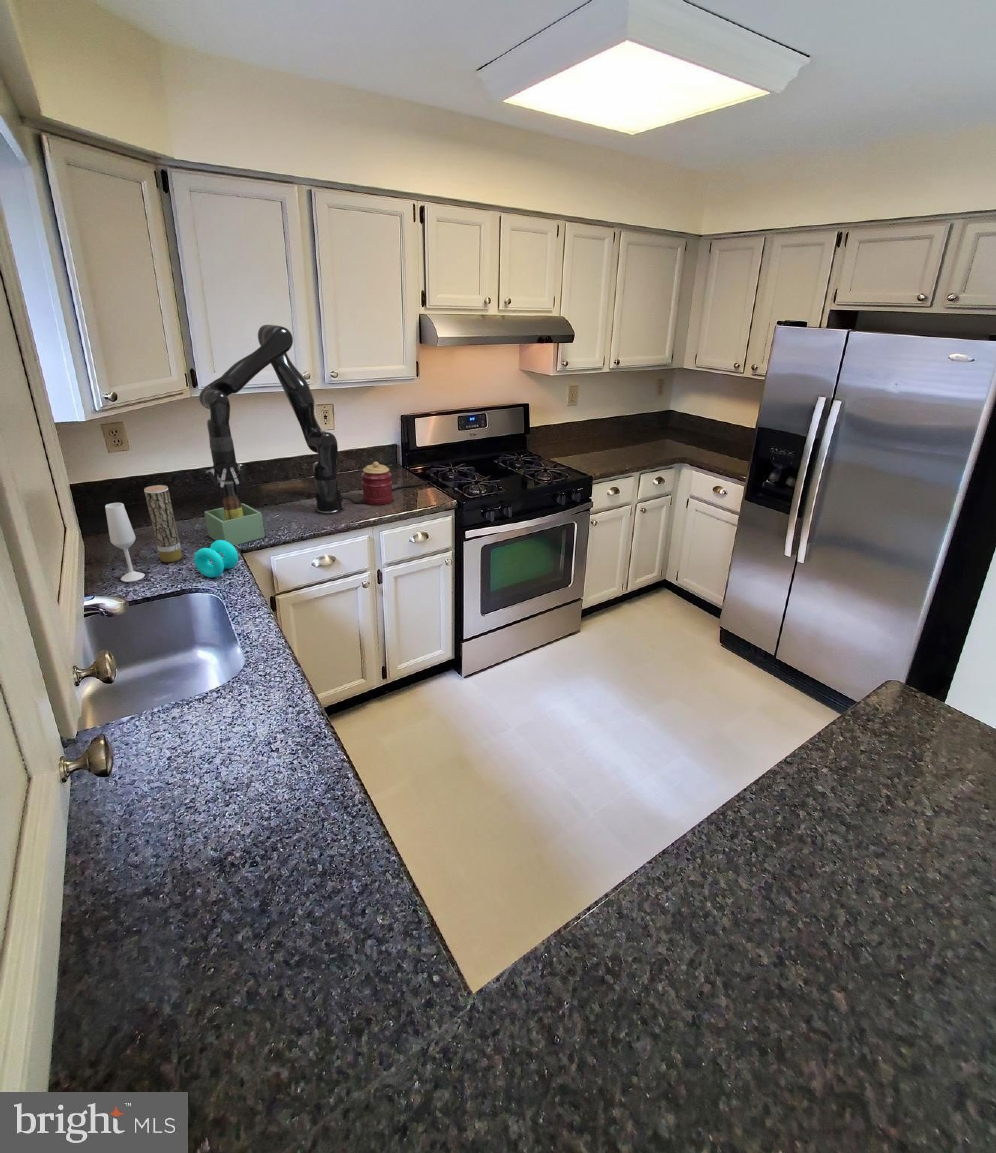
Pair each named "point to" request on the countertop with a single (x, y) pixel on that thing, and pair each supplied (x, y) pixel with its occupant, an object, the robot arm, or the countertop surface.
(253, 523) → the bin
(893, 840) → the countertop surface
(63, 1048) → the countertop surface
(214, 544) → the turquoise yo-yo
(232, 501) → the sauce bottle
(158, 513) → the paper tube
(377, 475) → the kitchen canister
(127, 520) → the champagne flute
